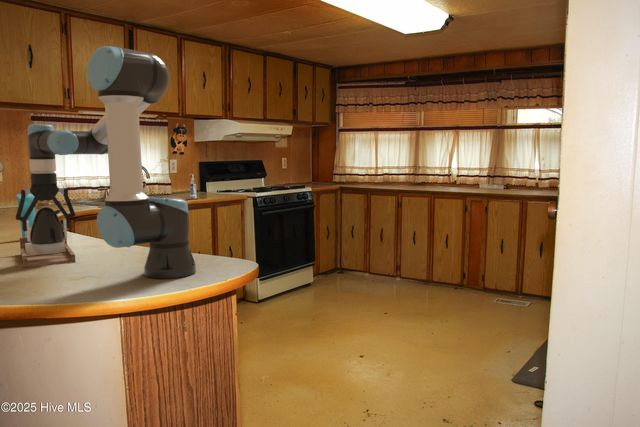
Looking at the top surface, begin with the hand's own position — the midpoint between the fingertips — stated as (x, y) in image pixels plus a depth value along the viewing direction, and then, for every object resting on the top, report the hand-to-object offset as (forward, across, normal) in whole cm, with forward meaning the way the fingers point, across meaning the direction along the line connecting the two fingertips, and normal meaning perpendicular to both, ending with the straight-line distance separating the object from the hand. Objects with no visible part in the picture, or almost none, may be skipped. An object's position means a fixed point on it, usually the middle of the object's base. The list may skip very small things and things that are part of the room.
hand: (47, 239), depth 174 cm
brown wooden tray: (+8, 0, -8) cm, 11 cm away
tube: (+8, +3, -53) cm, 54 cm away
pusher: (+7, 0, -15) cm, 16 cm away
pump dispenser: (+4, 0, 0) cm, 4 cm away
